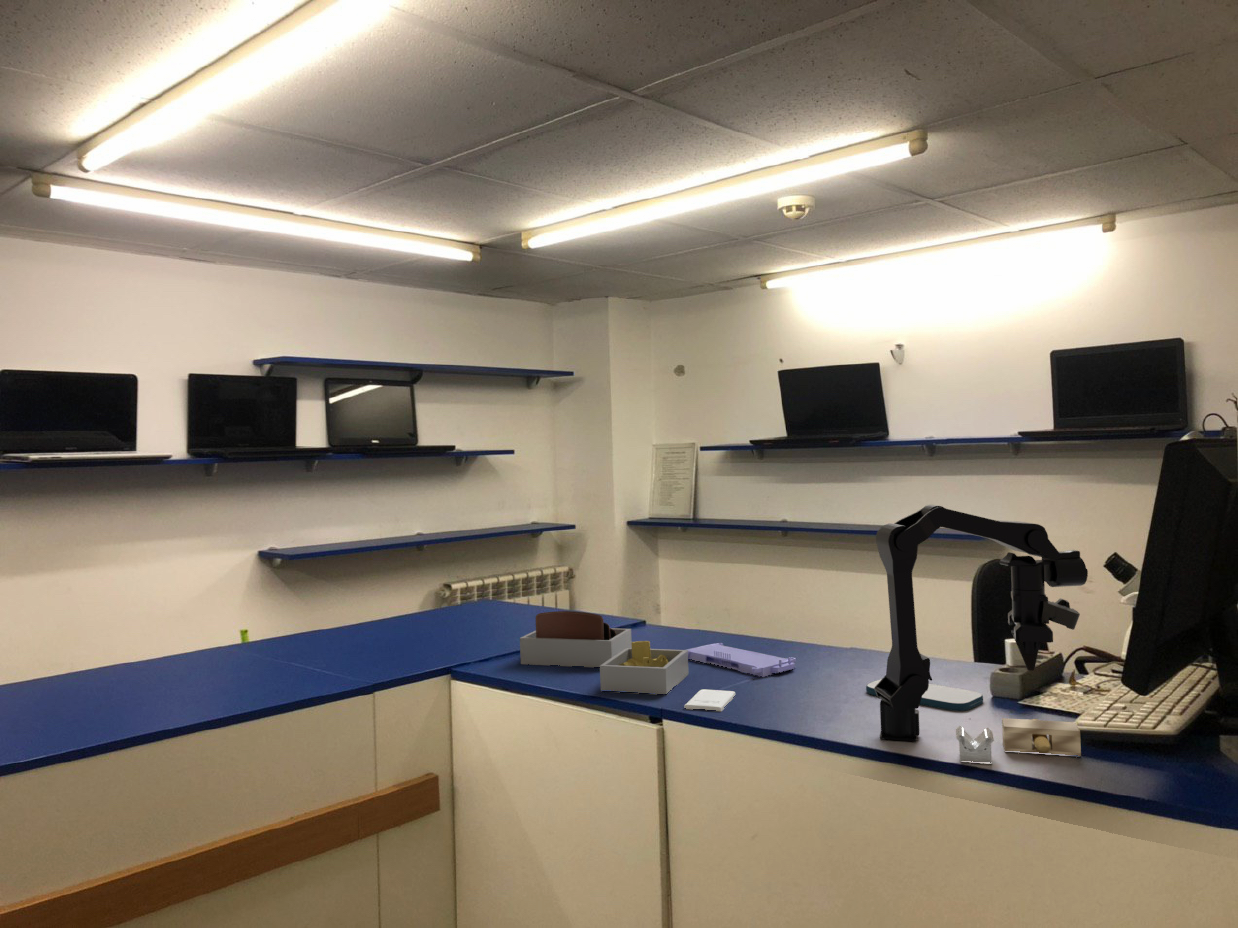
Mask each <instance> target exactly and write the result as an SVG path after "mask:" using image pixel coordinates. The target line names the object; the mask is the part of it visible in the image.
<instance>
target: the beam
mask: <svg viewBox="0 0 1238 928" xmlns="http://www.w3.org/2000/svg"><path fill="white" fill-rule="evenodd" d="M1001 730H1002V732H1001V733H1002V745H1003V746H1004V747H1003V750H1005V751H1020V752H1038V751H1037V750H1036V748H1035V745H1034V742H1033V738H1032V734H1042V735H1047V736H1048V740H1049V743H1050V746H1051V748H1050V751H1049V752H1047V753H1051V754H1065V755H1078V756H1081V757H1082V751H1081V750H1082V748H1081V730H1080V728H1079V726H1078V724H1077V722H1076V721H1075V722H1074V721H1060V720H1059V721H1057V720H1043V719H1042V720H1040V719H1038V720H1032V719H1027V718H1026V719H1025V718H1024V719H1023V718H1005V717H1002V718H1001ZM1005 751H1004V752H1005ZM1039 753H1040V752H1039Z"/></svg>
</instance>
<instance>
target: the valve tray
mask: <svg viewBox="0 0 1238 928" xmlns="http://www.w3.org/2000/svg"><path fill="white" fill-rule="evenodd" d="M650 651H651V659H656V658H658V657H659V656H660V655H664V656H666V659H667V660H668V662H669V663H668V664H666V665H665V666H664V667H641V666H619V664H622V663H625V662H626V661H628V660H629V659H632V648H626V649H624V650H623V651H621V652H620V653H618V654H617V655H615V656H614V657H612V658H611V659H609V660H608V661H606V662H605V663H603V664H602V665H600V668H599V681H600V691H601V690H611V691H613V690H614V691H626V692H638V693H637V694H639V693H640V692H641V693H652V694H651V695H657V694H667V693H668V692H669V691H670V690H672V688H673V687H674V686H676V685H677V686H678V685H679V684H680V683H681V682H682V681H683V680H684V679H686V677H687V676H689V660H688V650H687V649H667V648H664V649H663V648H661V649H660V648H650ZM677 686H676V687H677ZM672 691H673V690H672ZM670 692H671V691H670ZM670 692H669V693H670ZM653 693H655V694H653ZM669 693H668V694H669ZM668 694H667V695H668Z"/></svg>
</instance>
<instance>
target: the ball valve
mask: <svg viewBox="0 0 1238 928" xmlns="http://www.w3.org/2000/svg"><path fill="white" fill-rule="evenodd" d="M631 645H632V659H629V660H628V661H626V662H625V663H622V664H619V666H641V667H664V666H665V665H666V664H668V663H669V662H668V660H667V659H666V656H664V655H660V656H659V657H658V658H656V659H651V651H650V649H651V641H649V640H637V641H632V643H631Z"/></svg>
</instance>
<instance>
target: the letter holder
mask: <svg viewBox="0 0 1238 928" xmlns="http://www.w3.org/2000/svg"><path fill="white" fill-rule="evenodd" d="M535 631H536V638H557V639H586V640H610V639H612V638H613V637H615V636H616V632H615V630H614V629H611V627H610V624H608V623H607V622H604V618H603V616H602V615H600V614H595V613H590V612H584V611H583V612H582V611H575V610H574V611H573V610H571V611H570V610H560V611H559V610H558V611H557V610H556V611H546V612H545V611H544V612H539V613H538V614H536V616H535Z"/></svg>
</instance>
